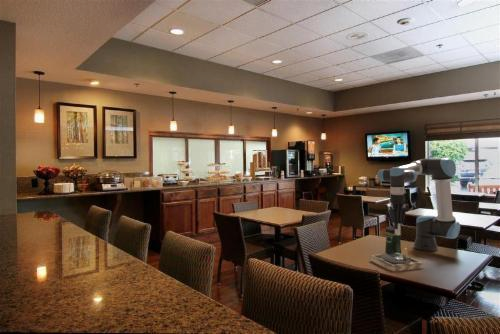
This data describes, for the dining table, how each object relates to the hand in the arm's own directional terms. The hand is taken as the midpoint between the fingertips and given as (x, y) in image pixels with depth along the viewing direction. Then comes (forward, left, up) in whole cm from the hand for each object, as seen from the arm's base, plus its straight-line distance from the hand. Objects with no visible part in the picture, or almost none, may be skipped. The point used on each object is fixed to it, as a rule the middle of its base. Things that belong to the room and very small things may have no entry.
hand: (397, 234), depth 187 cm
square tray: (-5, -7, -20) cm, 22 cm away
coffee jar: (-17, -24, -20) cm, 35 cm away
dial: (-5, -7, -18) cm, 20 cm away
